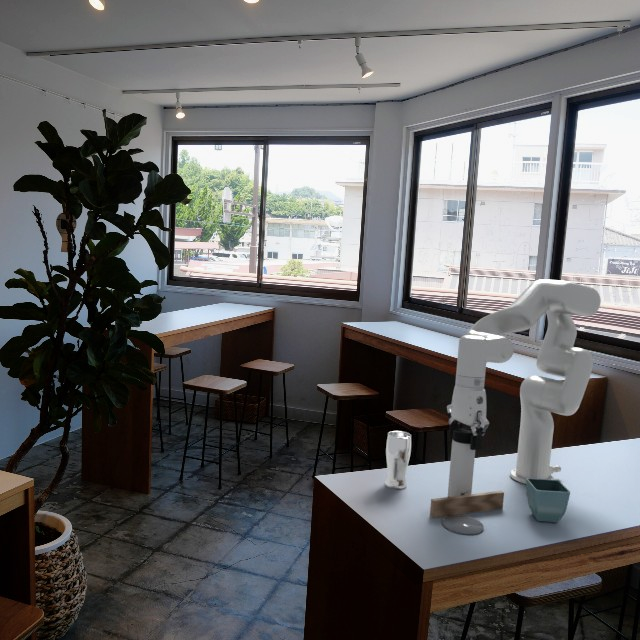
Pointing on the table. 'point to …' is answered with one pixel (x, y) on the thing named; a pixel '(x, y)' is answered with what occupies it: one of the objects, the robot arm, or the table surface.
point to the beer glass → (397, 458)
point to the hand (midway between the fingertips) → (464, 443)
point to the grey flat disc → (463, 525)
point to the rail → (466, 504)
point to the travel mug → (461, 463)
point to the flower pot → (547, 499)
